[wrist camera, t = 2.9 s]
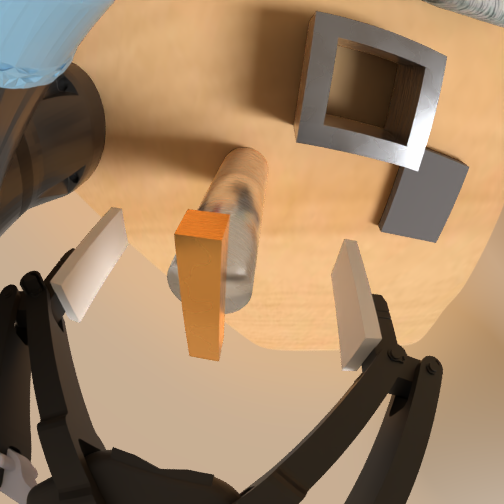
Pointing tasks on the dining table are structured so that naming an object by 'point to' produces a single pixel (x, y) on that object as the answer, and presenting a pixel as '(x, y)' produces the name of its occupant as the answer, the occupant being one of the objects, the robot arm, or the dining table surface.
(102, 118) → the robot arm
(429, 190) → the rest mat
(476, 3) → the spool
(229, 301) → the chuck key
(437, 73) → the block
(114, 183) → the dining table surface
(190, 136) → the dining table surface
